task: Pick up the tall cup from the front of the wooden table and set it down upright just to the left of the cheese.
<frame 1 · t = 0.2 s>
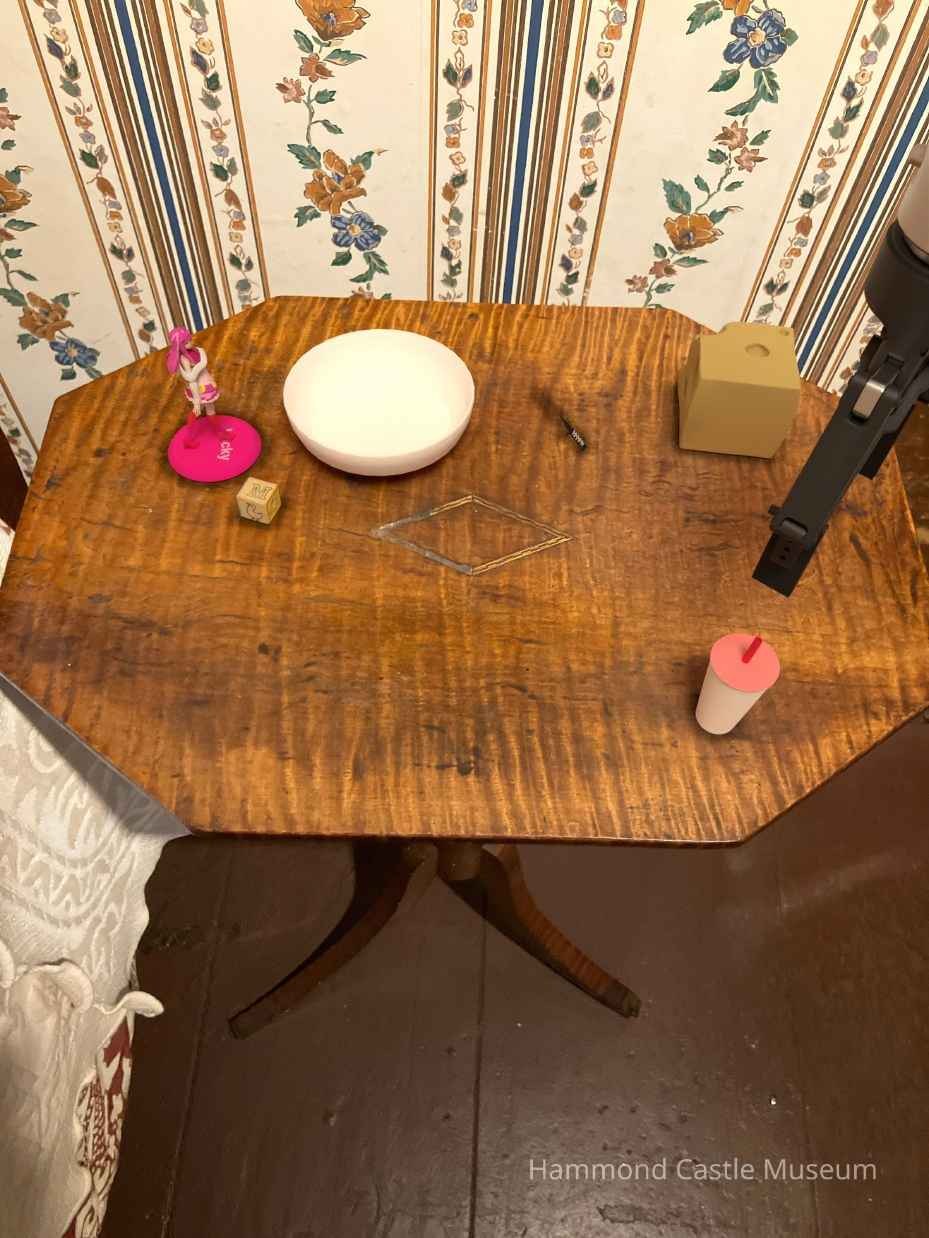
hand: (816, 523, 61), 21 cm above the table, tool pointing down, fingers open, 13 cm apart
cheese: (723, 426, 97), on the table
alphabet block: (262, 512, 88), on the table
knife: (562, 425, 97), on the table
cup: (714, 717, 76), on the table
figurine: (215, 450, 93), on the table
bowl: (382, 435, 95), on the table
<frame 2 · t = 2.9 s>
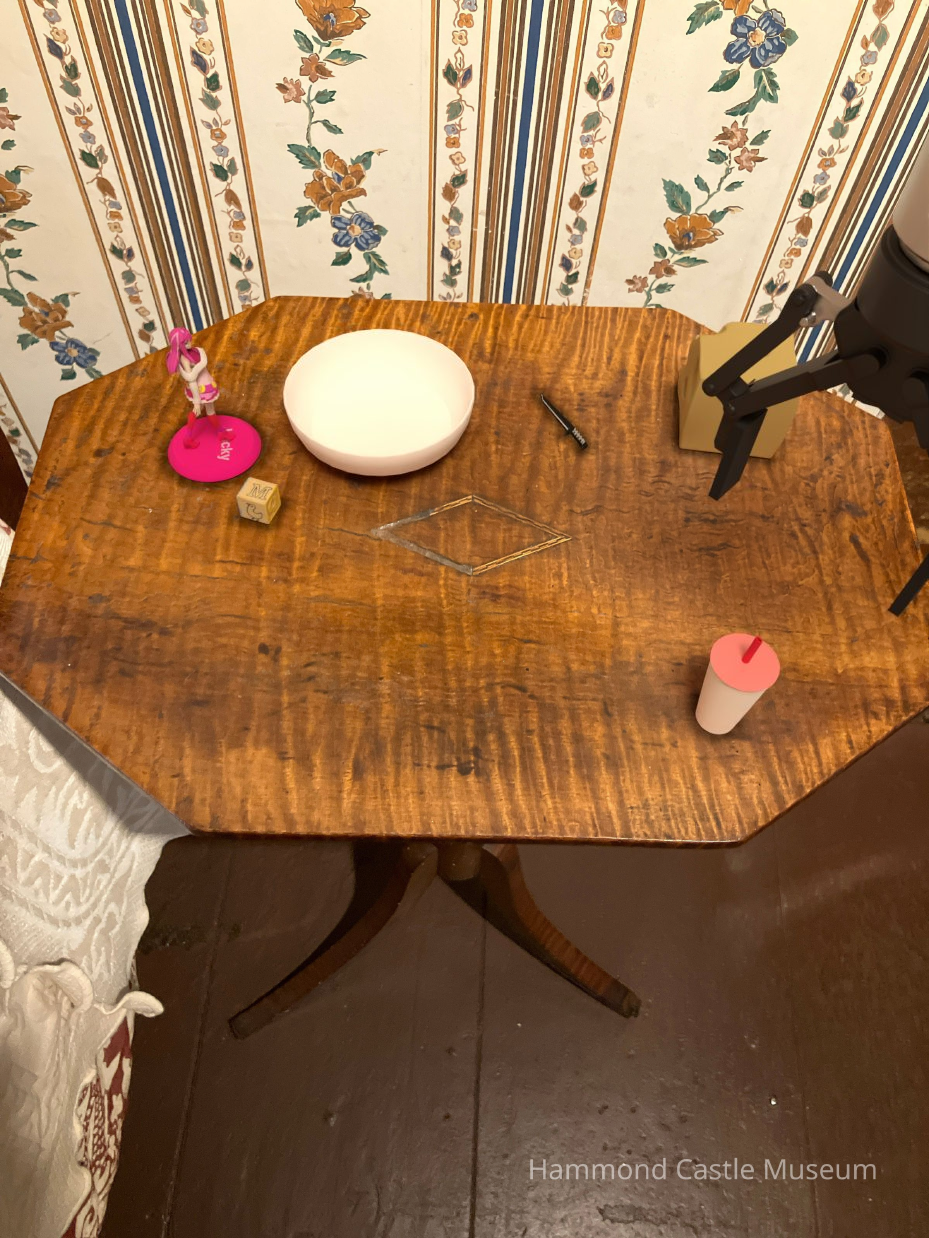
hand: (809, 542, 58), 22 cm above the table, tool pointing down, fingers open, 13 cm apart
nothing on the table moved.
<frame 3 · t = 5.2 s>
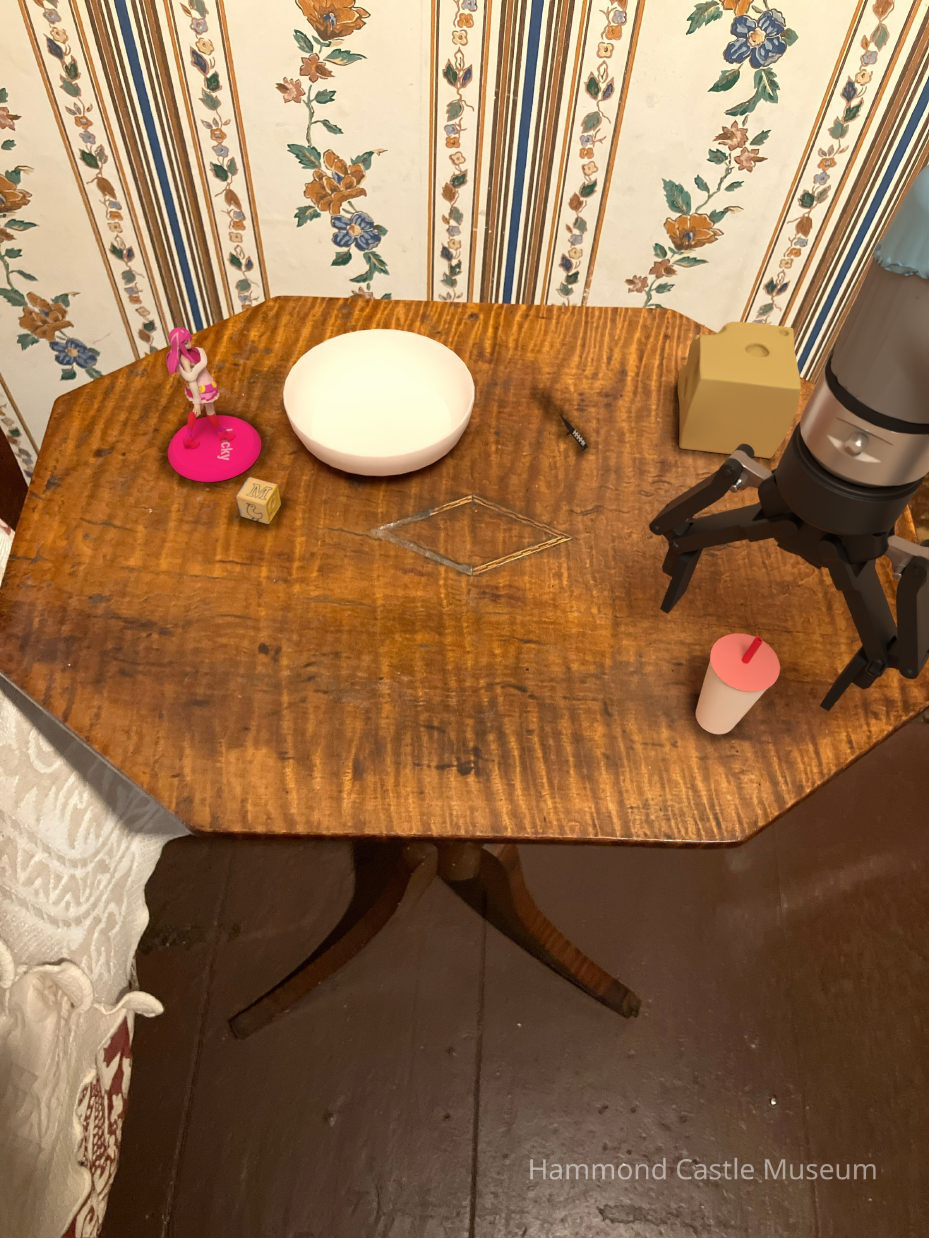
hand: (749, 647, 67), 11 cm above the table, tool pointing down, fingers open, 13 cm apart
nothing on the table moved.
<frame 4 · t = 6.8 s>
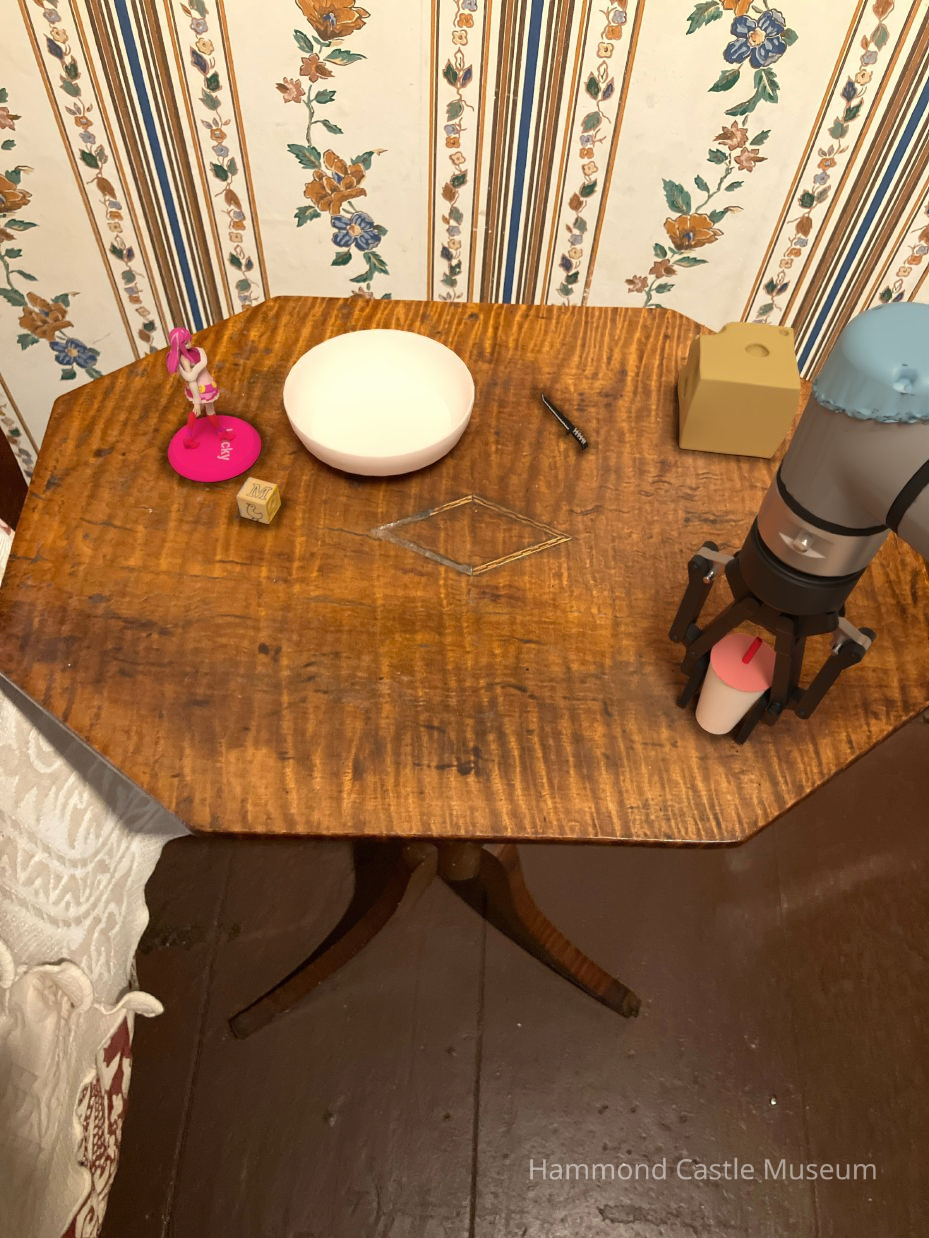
hand: (717, 712, 75), 1 cm above the table, tool pointing down, fingers closed on cup, 5 cm apart
cup: (714, 717, 76), on the table, touching gripper
everything else where it was.
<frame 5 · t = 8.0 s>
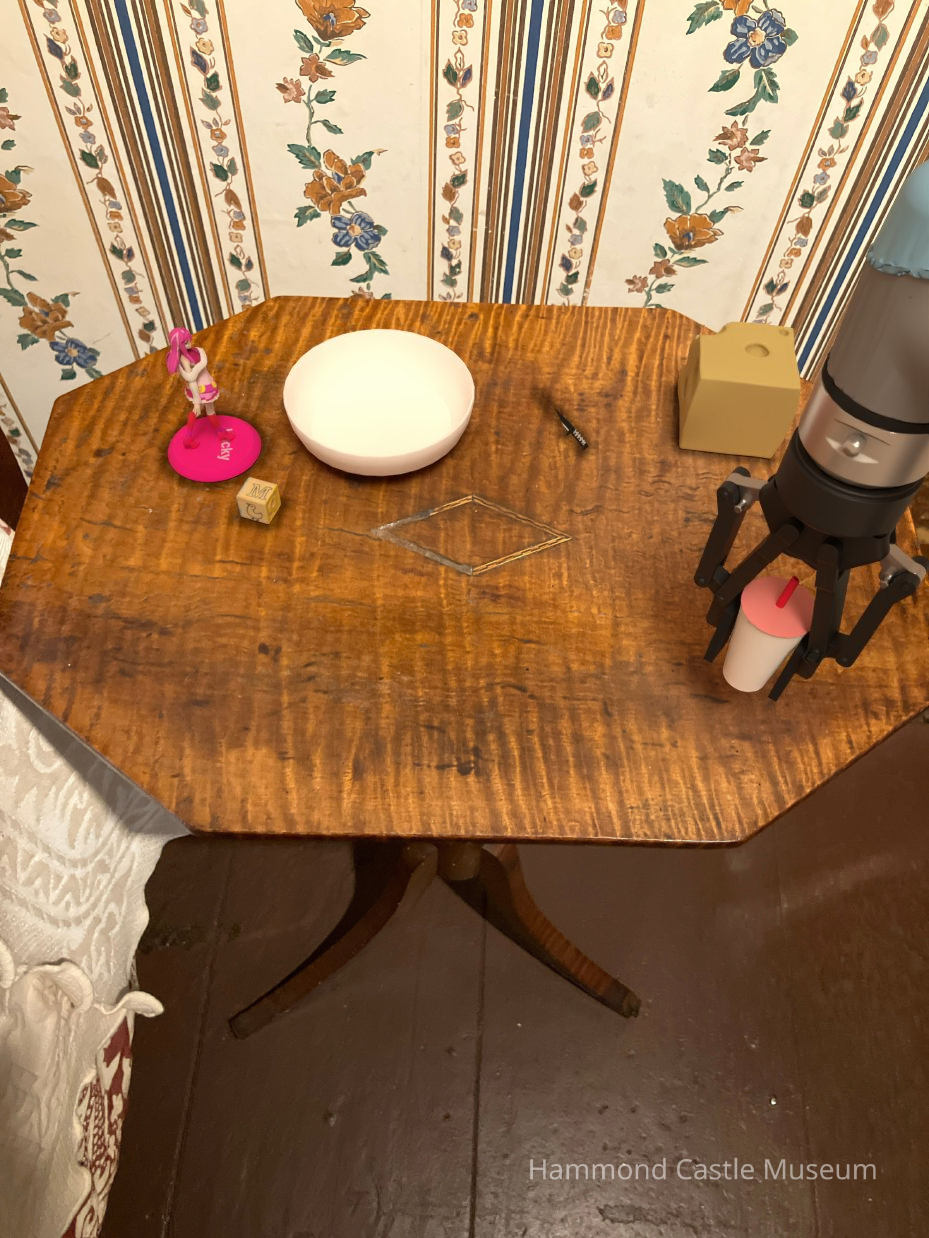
hand: (747, 668, 68), 9 cm above the table, tool pointing down, fingers closed on cup, 5 cm apart
cup: (743, 674, 69), point 8 cm above the table, touching gripper
everything else where it was.
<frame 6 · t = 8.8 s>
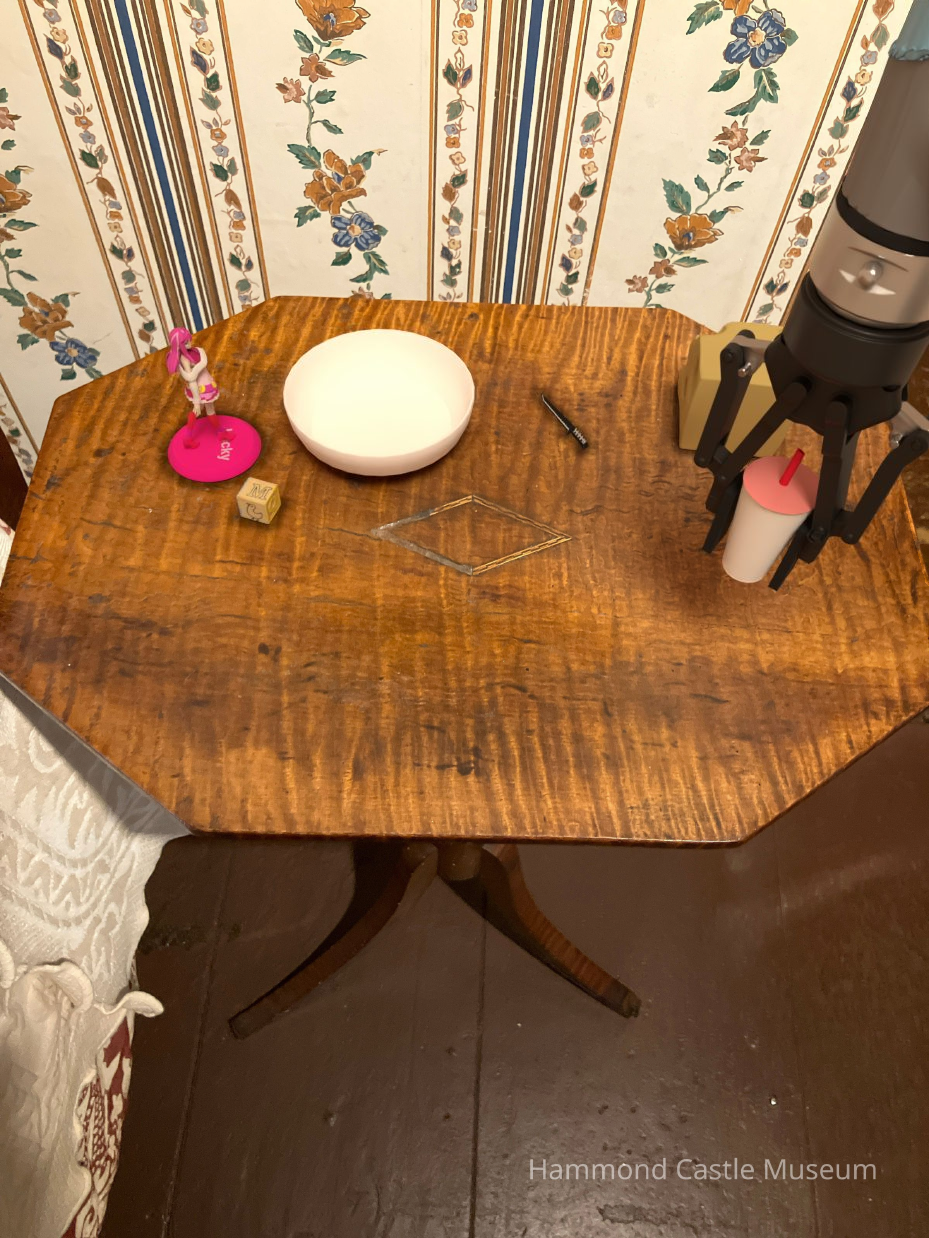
hand: (747, 558, 66), 15 cm above the table, tool pointing down, fingers closed on cup, 5 cm apart
cup: (743, 566, 67), point 14 cm above the table, touching gripper
everything else where it was.
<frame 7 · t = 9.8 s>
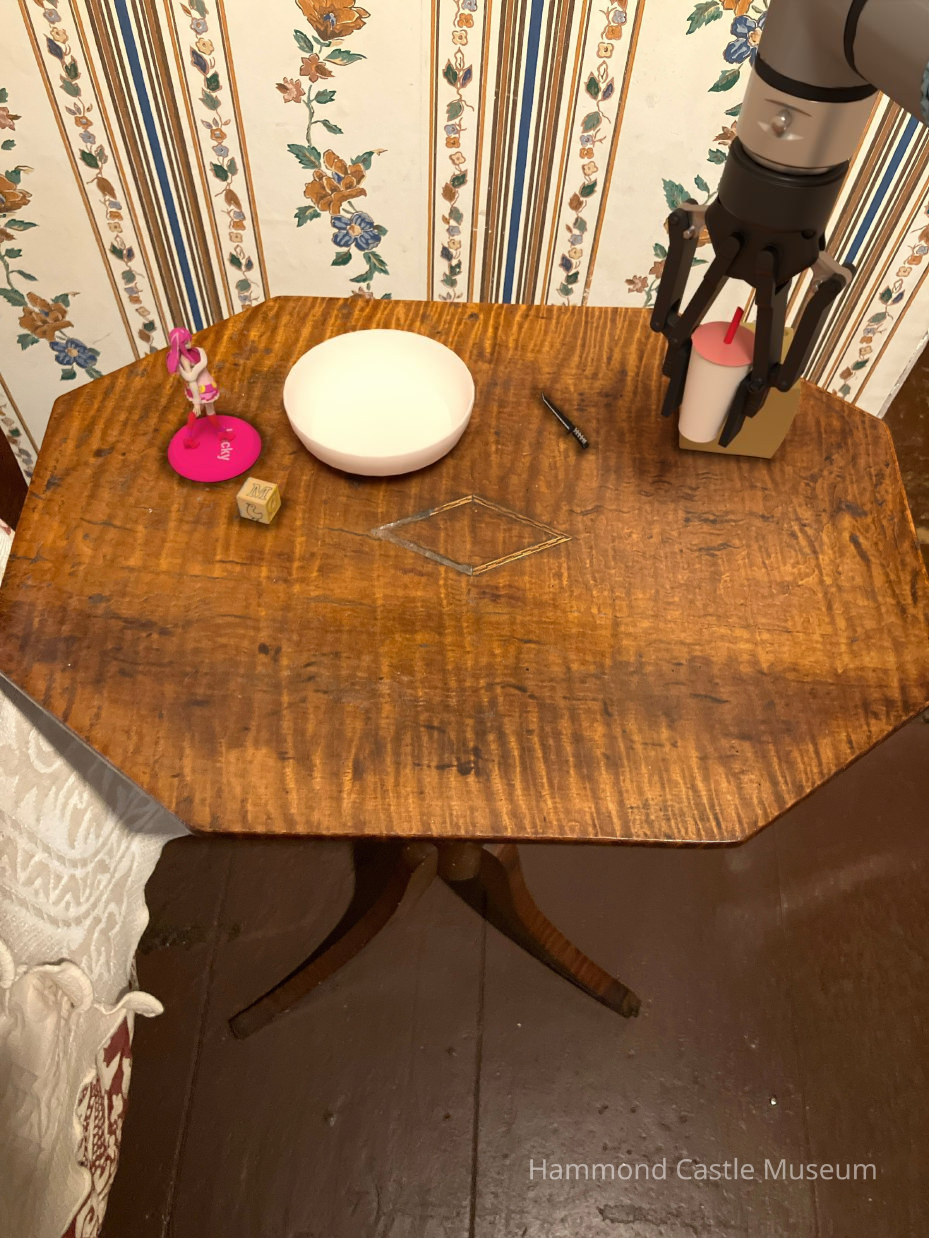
hand: (700, 422, 75), 15 cm above the table, tool pointing down, fingers closed on cup, 5 cm apart
cup: (697, 430, 75), point 14 cm above the table, touching gripper
everything else where it was.
when the fingers open (1 cm above the table, at t = 13.6 s): cup stays where it is, on the table.
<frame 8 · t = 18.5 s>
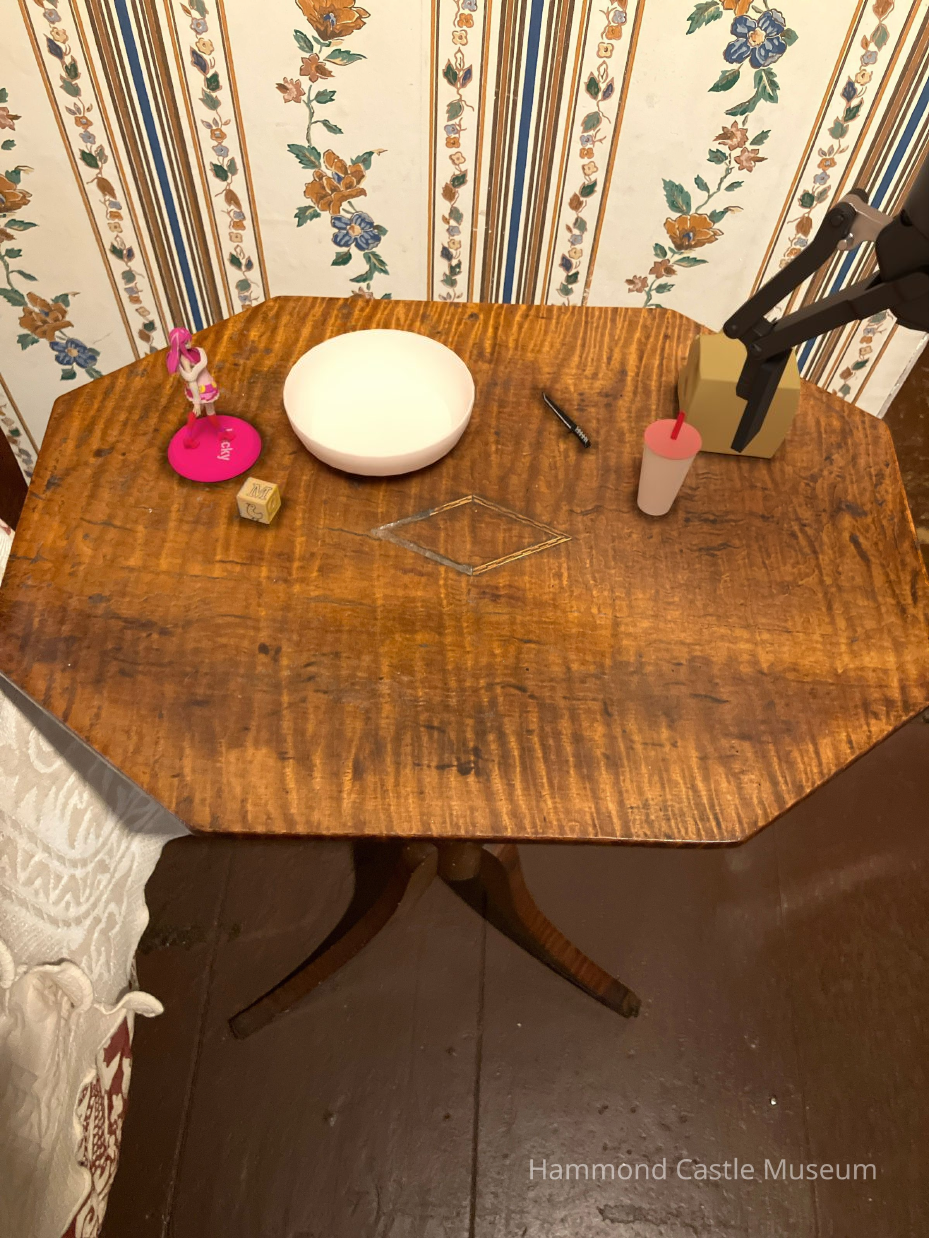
hand: (842, 489, 55), 27 cm above the table, tool pointing down, fingers open, 13 cm apart
cup: (653, 504, 90), on the table
everything else where it was.
at the end: cup inside the target area on the table beside the cheese (0.0 cm from its centre), on the table; cup tilted 0°; cheese moved 0.2 cm from its start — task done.
